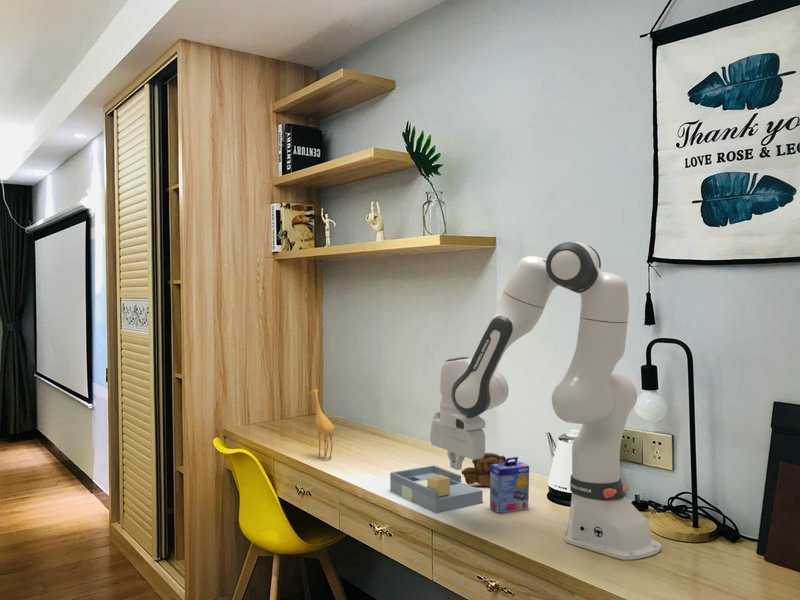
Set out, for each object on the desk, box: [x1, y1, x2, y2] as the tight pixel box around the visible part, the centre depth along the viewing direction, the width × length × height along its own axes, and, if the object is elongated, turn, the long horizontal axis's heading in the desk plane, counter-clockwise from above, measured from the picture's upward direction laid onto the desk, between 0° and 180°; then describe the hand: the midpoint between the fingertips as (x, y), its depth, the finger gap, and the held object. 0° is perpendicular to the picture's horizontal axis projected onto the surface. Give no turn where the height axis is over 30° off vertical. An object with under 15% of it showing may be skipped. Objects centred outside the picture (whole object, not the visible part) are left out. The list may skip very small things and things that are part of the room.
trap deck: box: [389, 464, 483, 514], centre depth 193 cm, size 24×16×6 cm, turn 32°
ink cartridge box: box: [489, 456, 530, 514], centre depth 182 cm, size 10×6×14 cm, turn 113°
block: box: [427, 475, 450, 497], centre depth 183 cm, size 4×4×5 cm
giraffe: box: [309, 387, 336, 460], centre depth 241 cm, size 16×4×25 cm, turn 35°
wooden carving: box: [461, 452, 507, 487], centre depth 204 cm, size 16×5×10 cm, turn 99°
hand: (455, 468), depth 178 cm, fingers closed
